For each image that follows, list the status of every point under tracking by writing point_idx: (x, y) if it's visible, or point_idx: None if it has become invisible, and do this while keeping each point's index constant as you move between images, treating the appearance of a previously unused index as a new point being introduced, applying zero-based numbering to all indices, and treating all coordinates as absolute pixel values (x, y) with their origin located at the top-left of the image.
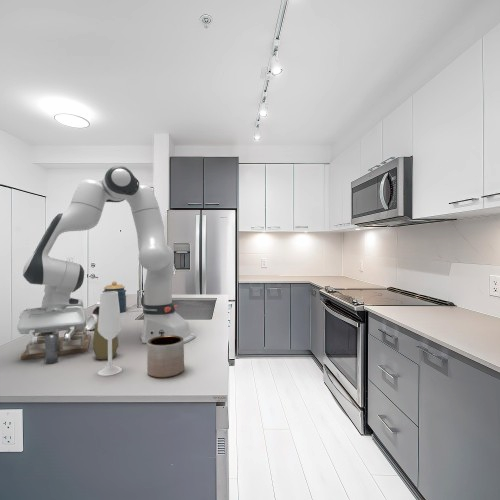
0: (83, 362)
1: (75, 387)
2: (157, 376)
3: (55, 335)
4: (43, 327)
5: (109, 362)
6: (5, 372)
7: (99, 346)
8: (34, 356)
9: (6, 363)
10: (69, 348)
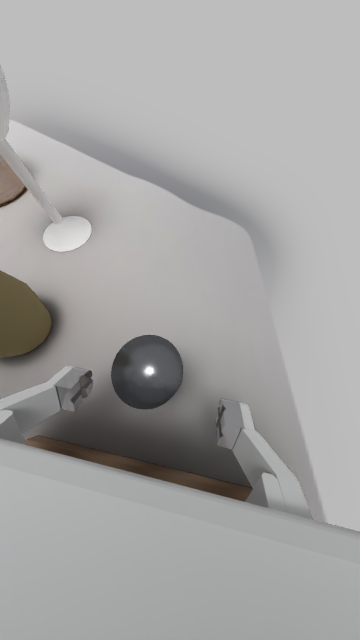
0: (90, 318)
1: (142, 201)
2: None
3: (129, 342)
4: (192, 489)
5: (56, 211)
6: (280, 359)
7: (17, 281)
8: (218, 483)
9: (306, 469)
10: None
